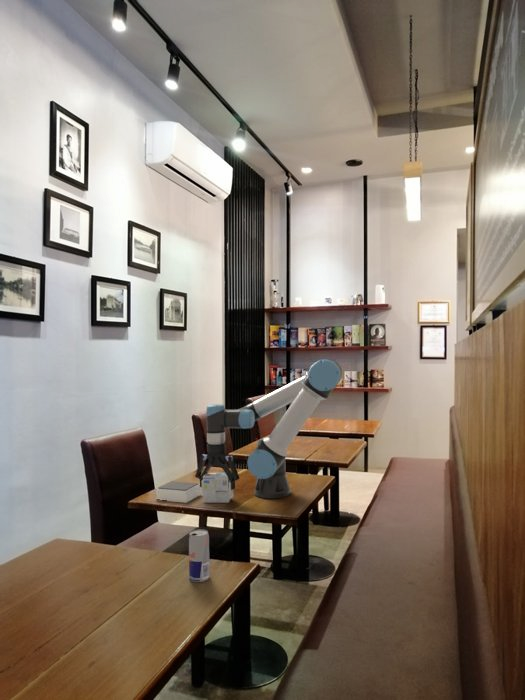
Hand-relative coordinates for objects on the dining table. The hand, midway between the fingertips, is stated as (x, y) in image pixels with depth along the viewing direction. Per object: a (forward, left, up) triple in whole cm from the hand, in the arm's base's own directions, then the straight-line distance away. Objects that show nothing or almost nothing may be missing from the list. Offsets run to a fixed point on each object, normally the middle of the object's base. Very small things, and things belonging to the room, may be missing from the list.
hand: (217, 496), depth 203 cm
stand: (+18, 0, -2) cm, 18 cm away
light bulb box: (0, 0, -2) cm, 2 cm away
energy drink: (-27, +66, -2) cm, 71 cm away
